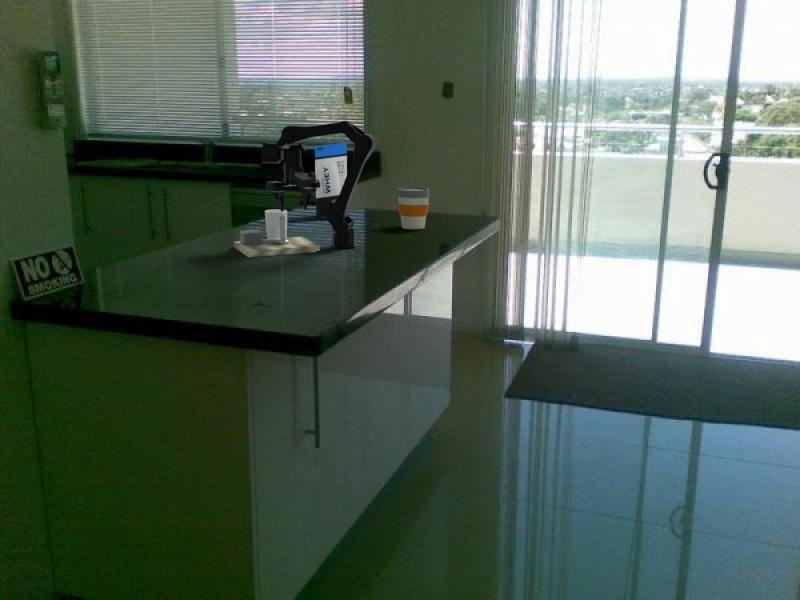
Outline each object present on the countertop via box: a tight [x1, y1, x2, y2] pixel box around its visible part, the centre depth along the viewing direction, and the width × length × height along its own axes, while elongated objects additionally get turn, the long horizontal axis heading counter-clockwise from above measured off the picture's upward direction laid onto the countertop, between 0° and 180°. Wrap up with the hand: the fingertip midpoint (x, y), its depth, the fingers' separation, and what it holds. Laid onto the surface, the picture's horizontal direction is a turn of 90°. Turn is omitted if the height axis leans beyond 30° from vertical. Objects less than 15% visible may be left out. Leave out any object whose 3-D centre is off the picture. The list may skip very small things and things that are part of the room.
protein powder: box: [314, 142, 348, 222], centre depth 330 cm, size 10×24×30 cm, turn 153°
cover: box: [239, 229, 263, 246], centre depth 264 cm, size 6×6×4 cm
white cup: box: [264, 208, 288, 239], centre depth 283 cm, size 8×8×10 cm
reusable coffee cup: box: [397, 186, 431, 230], centre depth 309 cm, size 13×13×15 cm
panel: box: [233, 236, 321, 258], centre depth 265 cm, size 24×18×2 cm
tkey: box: [262, 216, 289, 244], centre depth 264 cm, size 8×9×8 cm
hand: (293, 210), depth 270 cm, fingers open, 9 cm apart
